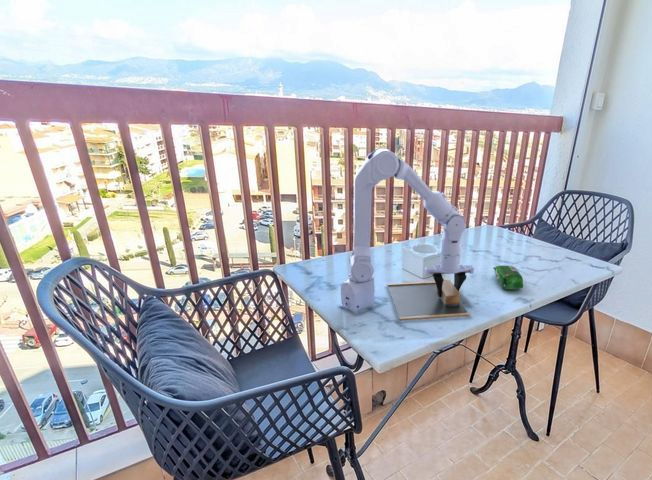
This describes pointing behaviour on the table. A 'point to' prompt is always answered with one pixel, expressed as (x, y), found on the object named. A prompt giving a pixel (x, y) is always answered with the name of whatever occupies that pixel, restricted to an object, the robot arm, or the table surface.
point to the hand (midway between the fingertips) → (447, 295)
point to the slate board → (421, 302)
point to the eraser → (450, 294)
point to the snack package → (508, 277)
